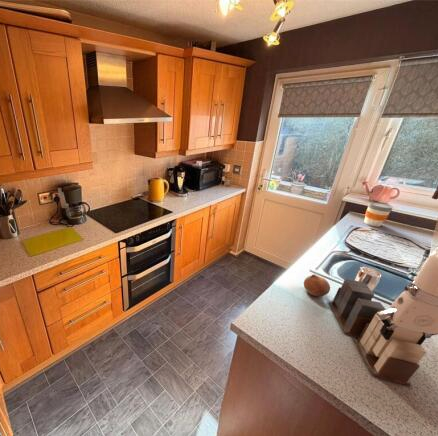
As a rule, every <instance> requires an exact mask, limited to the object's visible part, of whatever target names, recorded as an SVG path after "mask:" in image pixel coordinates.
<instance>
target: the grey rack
mask: <svg viewBox="0 0 438 436" xmlns="http://www.w3.org/2000/svg"><path fill="white" fill-rule="evenodd" d="M354 280H355V279H354ZM354 280H353V279H347V278H344V281H343V283H342V285H341V286H340V287H338V288H337V291H336V293H335V296H334V297H333V299H332V301H328V304H329V306H330V308H331V310H332V312H333V313H334V315H335V318H336V319H337V321H338V323H339V325H340V327H341V329H342V331H343V333H344V334H345V335H349V336H353V337H355V338H356V337H357V338H359V337H360V335H361V333H362V331H363V330H364V328H365V326H366V324H367V323H369V324H370V323H371V321H372V319H373V317H374V316H375V314H376V313H377V312H380V311H384V310H387V309H386V308H385V306H384V305H383V304H382V303H381V302H379V301H373V298H374V296H375V294H374V292H373V291H371V290H370V289H369V287H368V286H367V285H366V284H365V282H359V281H354ZM376 315H377V314H376Z"/></svg>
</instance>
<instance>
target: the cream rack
mask: <svg viewBox="0 0 438 436" xmlns="http://www.w3.org/2000/svg"><path fill="white" fill-rule="evenodd" d="M388 317H389V316H388ZM388 317H386V318H388ZM392 322H393V321H392ZM383 325H384V323H383V322H382V321H381V319H380V318H379V317H378V315H376V314H375V316H374V317H373V319H372V321H371V323H370V324H369V323H367V324H366V326H365V328H364V330H363V331H362V333H361V335H360V337H357V338H356V337H355V338H353V342H354V344H355V345H356V347H357V349H358V351H359V353H360V354H361V357H362V358H363V360H364V362H365V364H366V366H367V368H368V370H369V371H370V374H371V375H372V377H376V378H380V379H383V380H386V381H391V382H394V383H397V384H401V385H405V386H411V384H412V383H411V382H410V380H411V378H412V377H413V375H414V374H415V373H416V372H417V371H418V369H419V368H420V367H421V365H420V361H421V360H422V359H423V358H424V356H425V355H426V354H427V351H426V350H425V348H424V347H423V345H422V344H421V345H419V344H415V343H410V342H406V341H401V340H397V339H392V340H391V342H390V343H389V345H388V346H387V348H386V349H385V351H384V352H383V354H382V355H381V357H376V355H375V353H374V352H373V348H374V347H375V345H376V344H377V342H378V341H379V339H380V337H381V336H382V334H381V333H380V330H381V328H382V326H383Z"/></svg>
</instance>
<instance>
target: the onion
mask: <svg viewBox="0 0 438 436" xmlns="http://www.w3.org/2000/svg"><path fill="white" fill-rule="evenodd" d="M303 287H304V289H305V291H306V292H307V293H308V294H309V295H311V296H313V297H315V298H316V297H317V298H323V297H324V296H327V294H329V293H330V292H331V285H330V283H329V282H328V280H327V279H325V278H324V277H321V276H319V275H317V274H314V273H313V274H311V275H309V276H307V277H306V278H305V279H304V282H303Z"/></svg>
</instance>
